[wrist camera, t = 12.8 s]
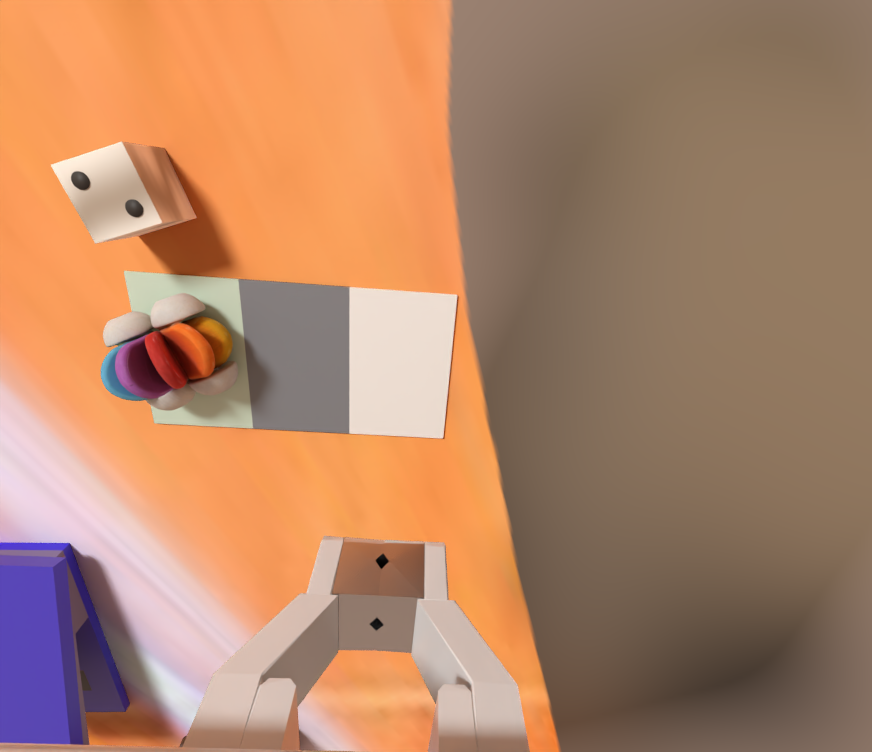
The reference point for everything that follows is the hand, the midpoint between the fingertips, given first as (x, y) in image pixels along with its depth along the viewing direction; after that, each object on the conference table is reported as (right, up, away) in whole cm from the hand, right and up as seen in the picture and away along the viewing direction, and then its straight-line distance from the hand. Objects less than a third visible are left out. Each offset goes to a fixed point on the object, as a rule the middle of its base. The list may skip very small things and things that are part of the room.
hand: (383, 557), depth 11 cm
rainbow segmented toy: (-20, +7, +27) cm, 34 cm away
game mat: (-11, +6, +28) cm, 30 cm away
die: (-20, +18, +22) cm, 35 cm away
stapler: (-43, -25, +41) cm, 64 cm away
